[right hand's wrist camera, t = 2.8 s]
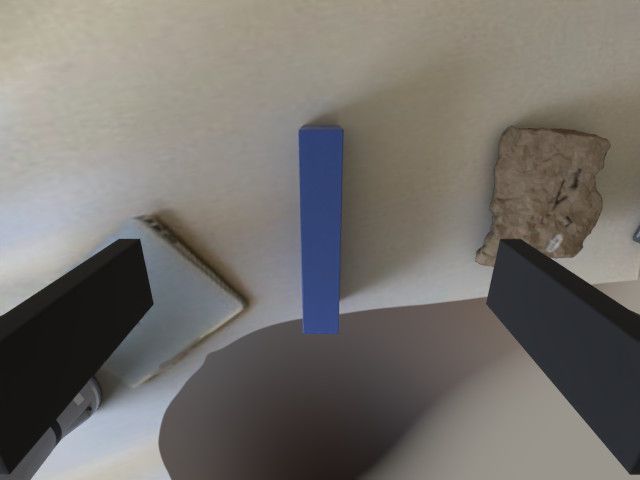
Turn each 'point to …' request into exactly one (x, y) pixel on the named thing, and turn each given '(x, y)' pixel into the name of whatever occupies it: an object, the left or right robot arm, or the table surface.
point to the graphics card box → (637, 236)
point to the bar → (320, 225)
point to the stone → (545, 191)
